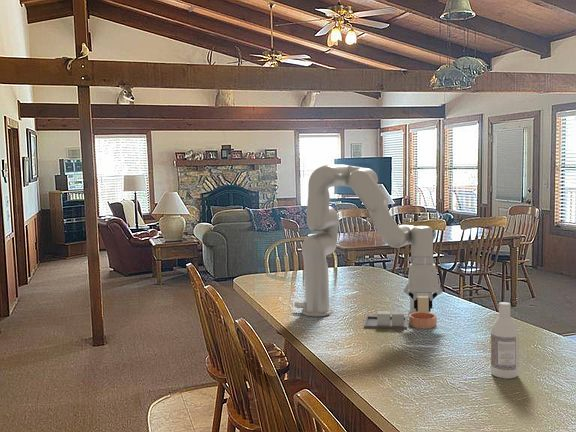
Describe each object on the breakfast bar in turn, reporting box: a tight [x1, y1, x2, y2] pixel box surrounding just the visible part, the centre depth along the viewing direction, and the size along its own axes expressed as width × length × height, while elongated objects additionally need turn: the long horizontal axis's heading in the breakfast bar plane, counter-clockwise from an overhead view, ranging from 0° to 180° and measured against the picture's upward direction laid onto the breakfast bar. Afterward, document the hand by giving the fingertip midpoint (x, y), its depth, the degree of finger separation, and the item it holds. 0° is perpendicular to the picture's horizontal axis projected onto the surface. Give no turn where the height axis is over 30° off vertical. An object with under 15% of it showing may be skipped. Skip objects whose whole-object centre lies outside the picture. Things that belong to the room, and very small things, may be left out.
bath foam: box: [490, 301, 519, 380], centre depth 152 cm, size 7×7×20 cm
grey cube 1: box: [376, 310, 391, 326], centre depth 201 cm, size 4×4×5 cm
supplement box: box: [409, 292, 429, 314], centre depth 219 cm, size 7×7×13 cm
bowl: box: [408, 312, 438, 329], centre depth 202 cm, size 10×10×4 cm
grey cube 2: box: [391, 311, 405, 326], centre depth 199 cm, size 4×4×5 cm
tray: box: [363, 315, 408, 330], centre depth 204 cm, size 15×13×1 cm
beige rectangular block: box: [417, 296, 430, 313], centre depth 201 cm, size 4×4×5 cm
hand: (423, 310), depth 201 cm, fingers closed on beige rectangular block, 3 cm apart
